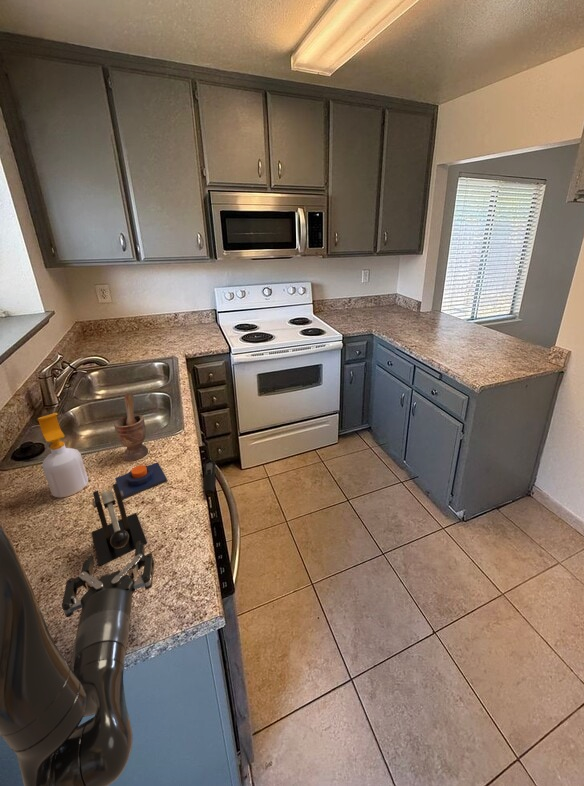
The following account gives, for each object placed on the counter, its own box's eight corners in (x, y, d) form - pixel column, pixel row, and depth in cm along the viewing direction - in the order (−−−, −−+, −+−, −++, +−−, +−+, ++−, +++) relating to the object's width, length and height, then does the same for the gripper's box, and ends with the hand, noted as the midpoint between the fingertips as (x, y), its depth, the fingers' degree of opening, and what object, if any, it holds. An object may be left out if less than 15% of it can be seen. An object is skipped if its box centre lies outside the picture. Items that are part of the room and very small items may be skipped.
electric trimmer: (202, 500, 100) (201, 491, 99) (204, 465, 114) (202, 457, 113) (216, 497, 101) (215, 488, 100) (216, 463, 115) (215, 455, 114)
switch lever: (131, 545, 79) (130, 539, 76) (113, 554, 77) (111, 548, 74) (116, 493, 85) (114, 486, 83) (99, 500, 83) (96, 493, 81)
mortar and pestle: (118, 449, 123) (105, 397, 117) (145, 440, 128) (134, 389, 121) (124, 465, 115) (111, 410, 108) (153, 455, 120) (142, 402, 113)
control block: (123, 503, 99) (119, 491, 98) (116, 484, 106) (113, 472, 105) (167, 484, 106) (165, 473, 104) (159, 467, 113) (156, 457, 112)
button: (133, 480, 102) (132, 475, 102) (131, 473, 105) (129, 468, 105) (148, 474, 105) (147, 470, 104) (145, 468, 108) (144, 463, 107)
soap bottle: (56, 503, 99) (29, 426, 91) (48, 488, 105) (23, 414, 97) (92, 486, 105) (71, 413, 97) (83, 473, 111) (62, 403, 103)
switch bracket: (148, 547, 85) (136, 497, 80) (100, 570, 79) (83, 519, 74) (137, 516, 94) (125, 470, 89) (93, 536, 88) (78, 488, 83)
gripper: (147, 596, 59) (150, 525, 73) (44, 633, 54) (69, 549, 68) (155, 626, 62) (157, 553, 76) (57, 665, 57) (79, 578, 71)
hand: (115, 551), depth 72 cm, fingers open, 8 cm apart
